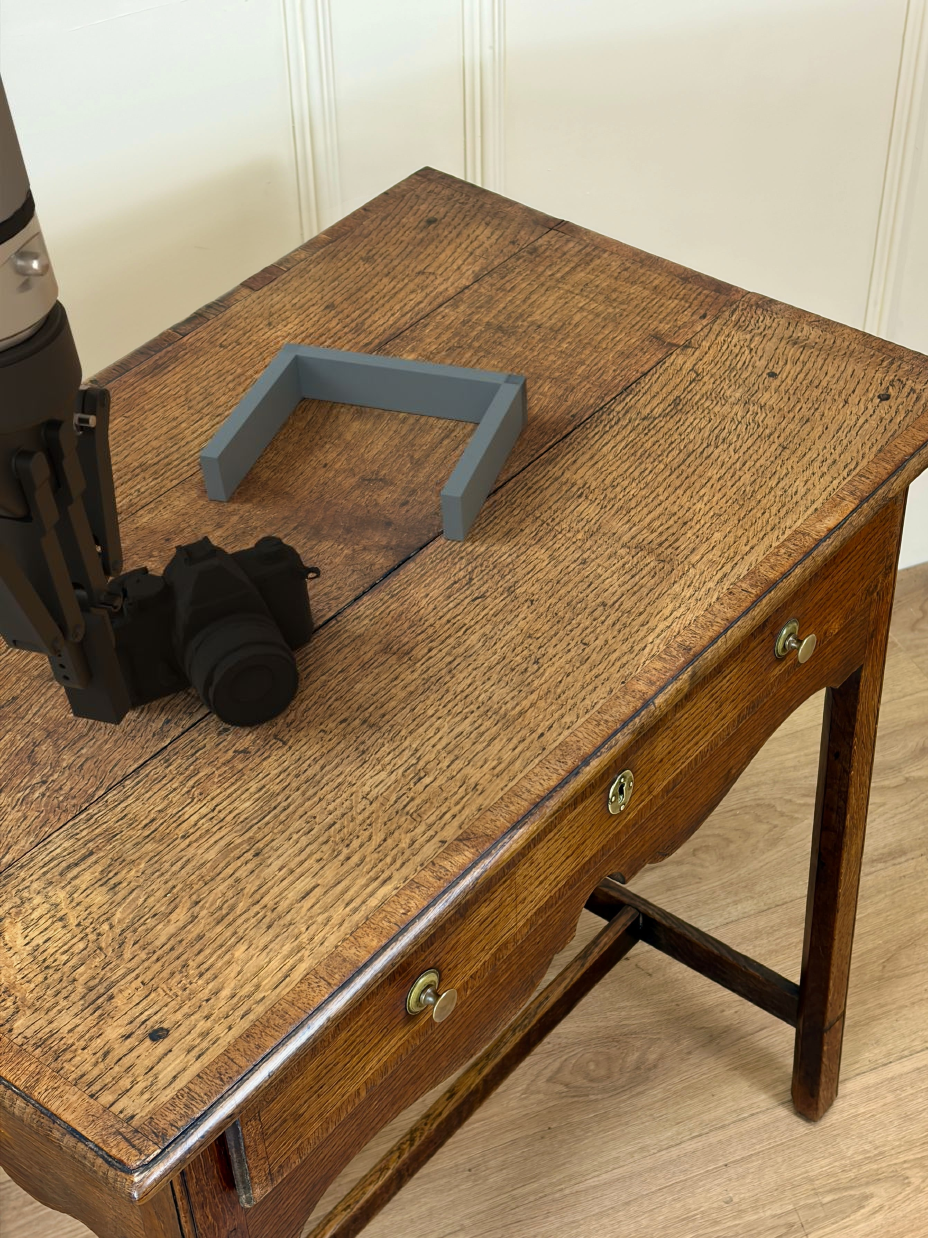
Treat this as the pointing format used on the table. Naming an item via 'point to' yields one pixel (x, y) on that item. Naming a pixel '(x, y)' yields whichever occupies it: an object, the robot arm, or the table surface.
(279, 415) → the u-shaped bracket
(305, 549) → the table surface
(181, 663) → the film camera
